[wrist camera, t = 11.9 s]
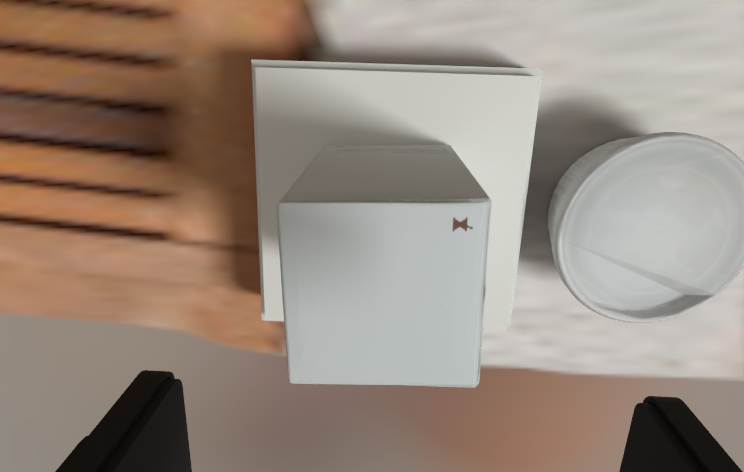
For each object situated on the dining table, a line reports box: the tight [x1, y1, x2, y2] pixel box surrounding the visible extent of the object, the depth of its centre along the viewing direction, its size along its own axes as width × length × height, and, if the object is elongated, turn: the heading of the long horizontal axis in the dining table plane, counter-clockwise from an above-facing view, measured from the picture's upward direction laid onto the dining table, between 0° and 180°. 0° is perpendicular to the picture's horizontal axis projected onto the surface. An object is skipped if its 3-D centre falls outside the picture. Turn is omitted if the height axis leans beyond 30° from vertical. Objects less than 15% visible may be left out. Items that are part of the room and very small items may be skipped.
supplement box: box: [277, 144, 492, 388], centre depth 24 cm, size 7×7×13 cm
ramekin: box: [547, 132, 744, 323], centre depth 31 cm, size 11×11×5 cm
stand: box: [251, 59, 543, 331], centre depth 32 cm, size 16×16×4 cm
